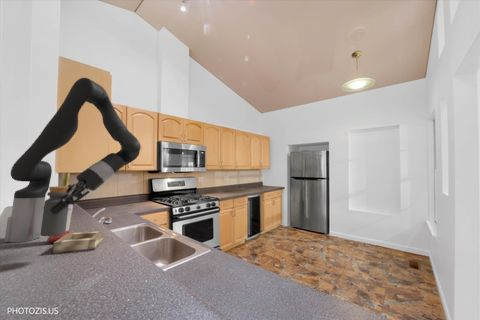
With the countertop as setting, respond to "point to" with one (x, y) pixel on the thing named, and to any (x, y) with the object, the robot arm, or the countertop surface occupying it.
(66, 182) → the liquor
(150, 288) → the countertop surface
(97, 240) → the wooden tray
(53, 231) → the bottle
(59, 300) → the countertop surface
